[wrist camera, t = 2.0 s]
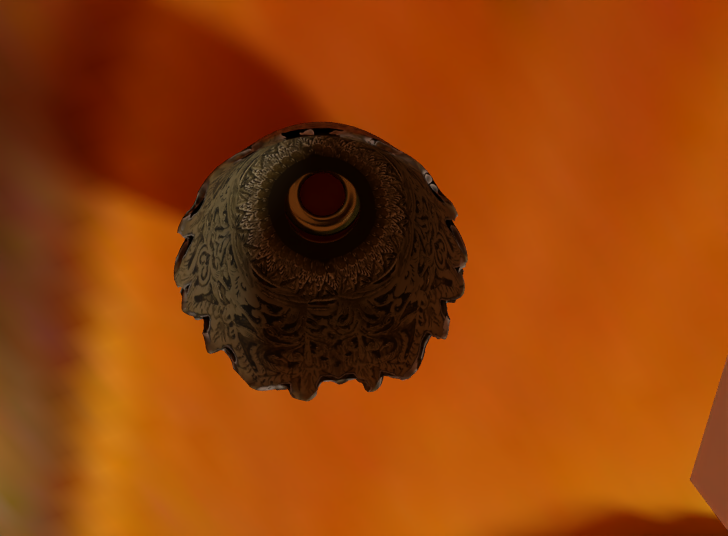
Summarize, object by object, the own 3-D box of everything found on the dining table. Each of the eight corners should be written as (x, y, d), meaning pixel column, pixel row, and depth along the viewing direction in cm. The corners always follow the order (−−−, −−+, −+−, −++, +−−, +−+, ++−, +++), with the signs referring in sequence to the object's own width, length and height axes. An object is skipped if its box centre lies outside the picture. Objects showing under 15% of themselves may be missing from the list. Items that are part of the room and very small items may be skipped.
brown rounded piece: (230, 292, 25) (192, 412, 18) (206, 94, 22) (150, 139, 15) (423, 281, 26) (465, 395, 18) (424, 85, 23) (473, 126, 15)
